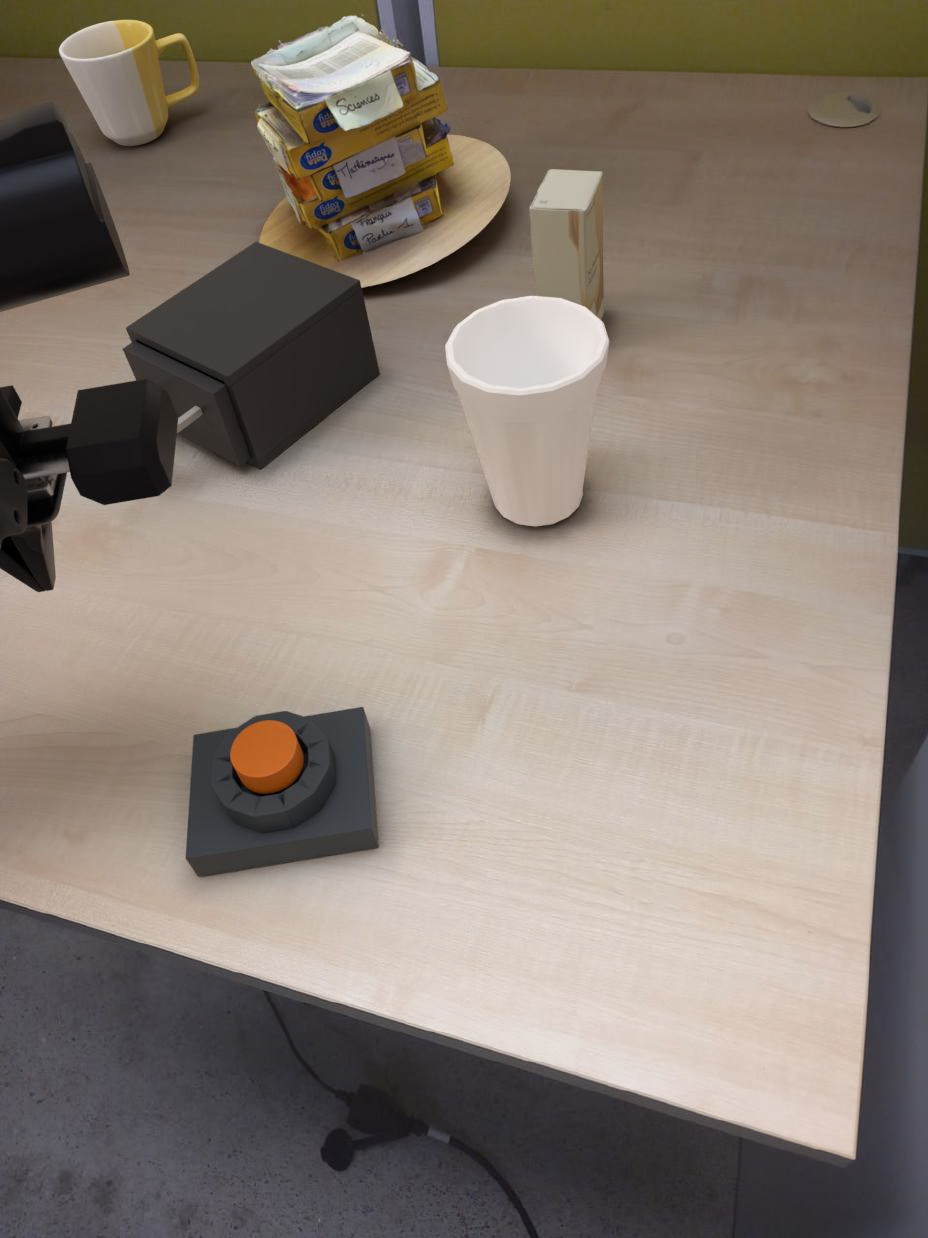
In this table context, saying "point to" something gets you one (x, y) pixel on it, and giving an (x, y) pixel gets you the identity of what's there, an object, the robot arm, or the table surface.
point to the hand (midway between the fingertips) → (47, 585)
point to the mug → (125, 78)
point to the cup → (530, 400)
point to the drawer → (193, 401)
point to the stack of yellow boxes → (369, 157)
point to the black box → (270, 341)
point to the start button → (267, 756)
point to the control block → (284, 798)
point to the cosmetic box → (569, 238)
